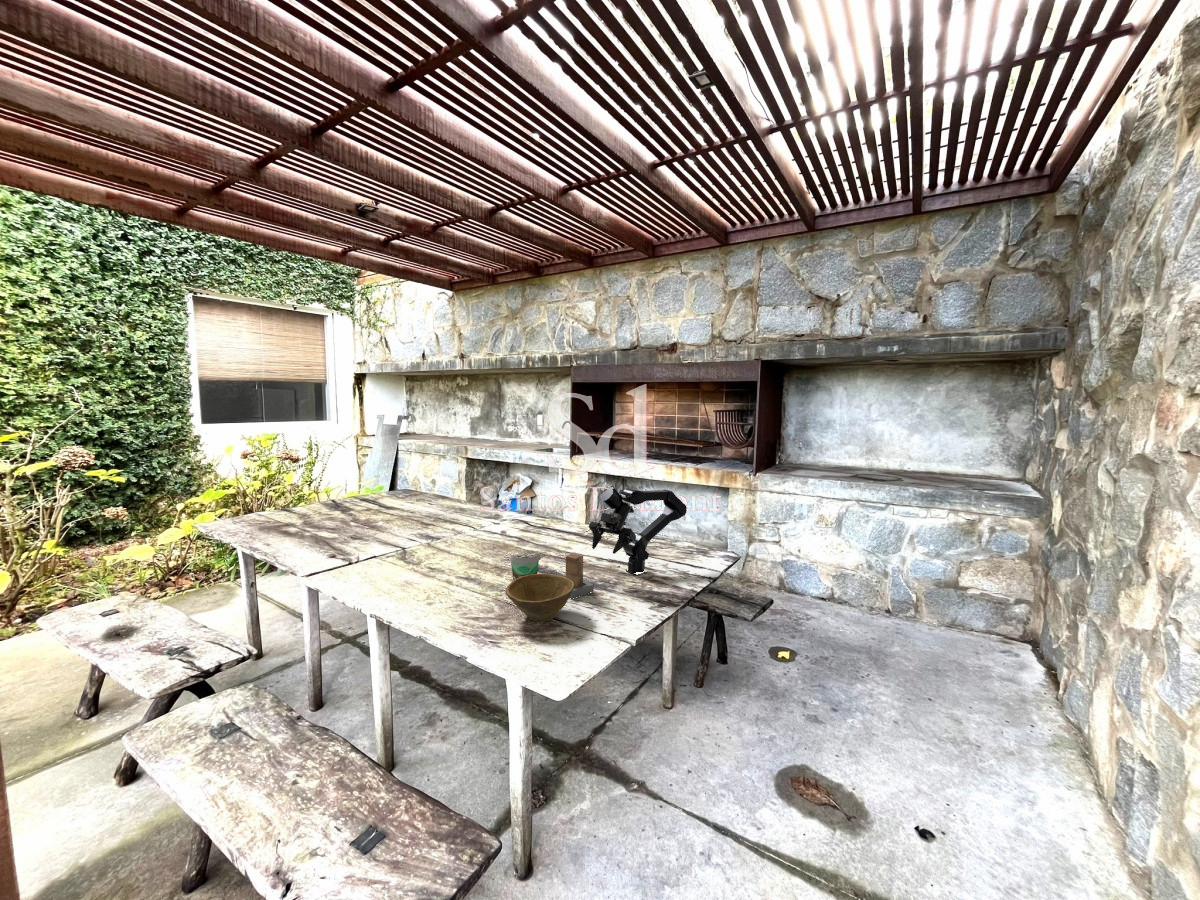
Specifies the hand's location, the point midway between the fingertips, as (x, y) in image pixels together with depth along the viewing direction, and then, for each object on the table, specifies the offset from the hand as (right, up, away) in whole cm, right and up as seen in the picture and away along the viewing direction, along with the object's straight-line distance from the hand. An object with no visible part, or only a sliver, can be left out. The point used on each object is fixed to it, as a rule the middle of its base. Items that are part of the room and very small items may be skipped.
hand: (603, 550), depth 184 cm
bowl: (-20, -16, -23) cm, 35 cm away
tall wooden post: (-10, -13, -4) cm, 18 cm away
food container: (-30, -13, +6) cm, 33 cm away
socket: (-10, -14, -4) cm, 18 cm away
